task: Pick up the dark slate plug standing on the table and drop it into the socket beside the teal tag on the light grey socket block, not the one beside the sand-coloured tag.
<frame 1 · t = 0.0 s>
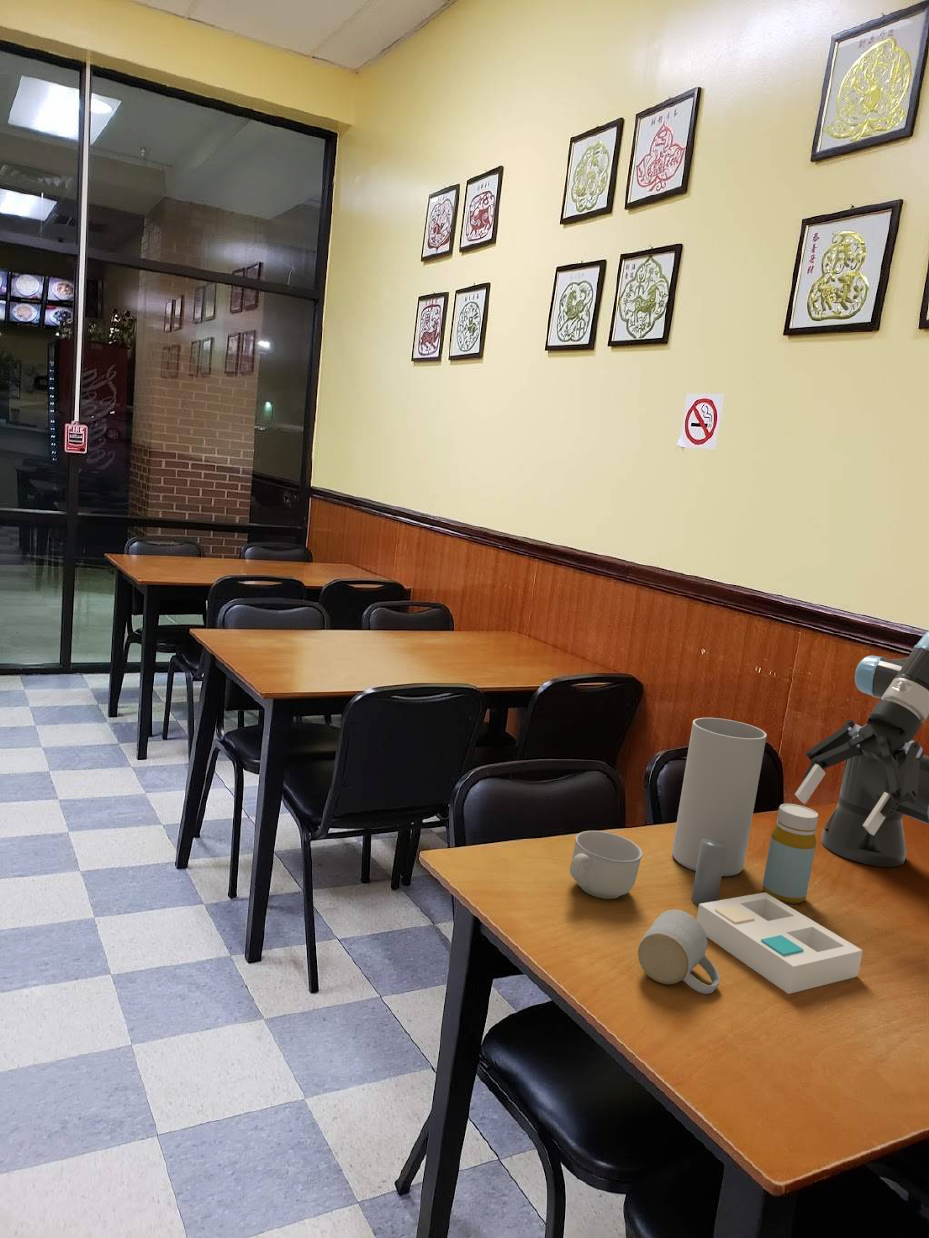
hand: (832, 814, 149), 15 cm above the table, tool tilted 35°, fingers open, 13 cm apart
teacup: (594, 893, 145), on the table
ceramic mug: (677, 977, 123), on the table
plug: (704, 901, 146), on the table
cylinder vase: (706, 863, 162), on the table
socket block: (773, 951, 132), on the table
bottle: (783, 896, 152), on the table
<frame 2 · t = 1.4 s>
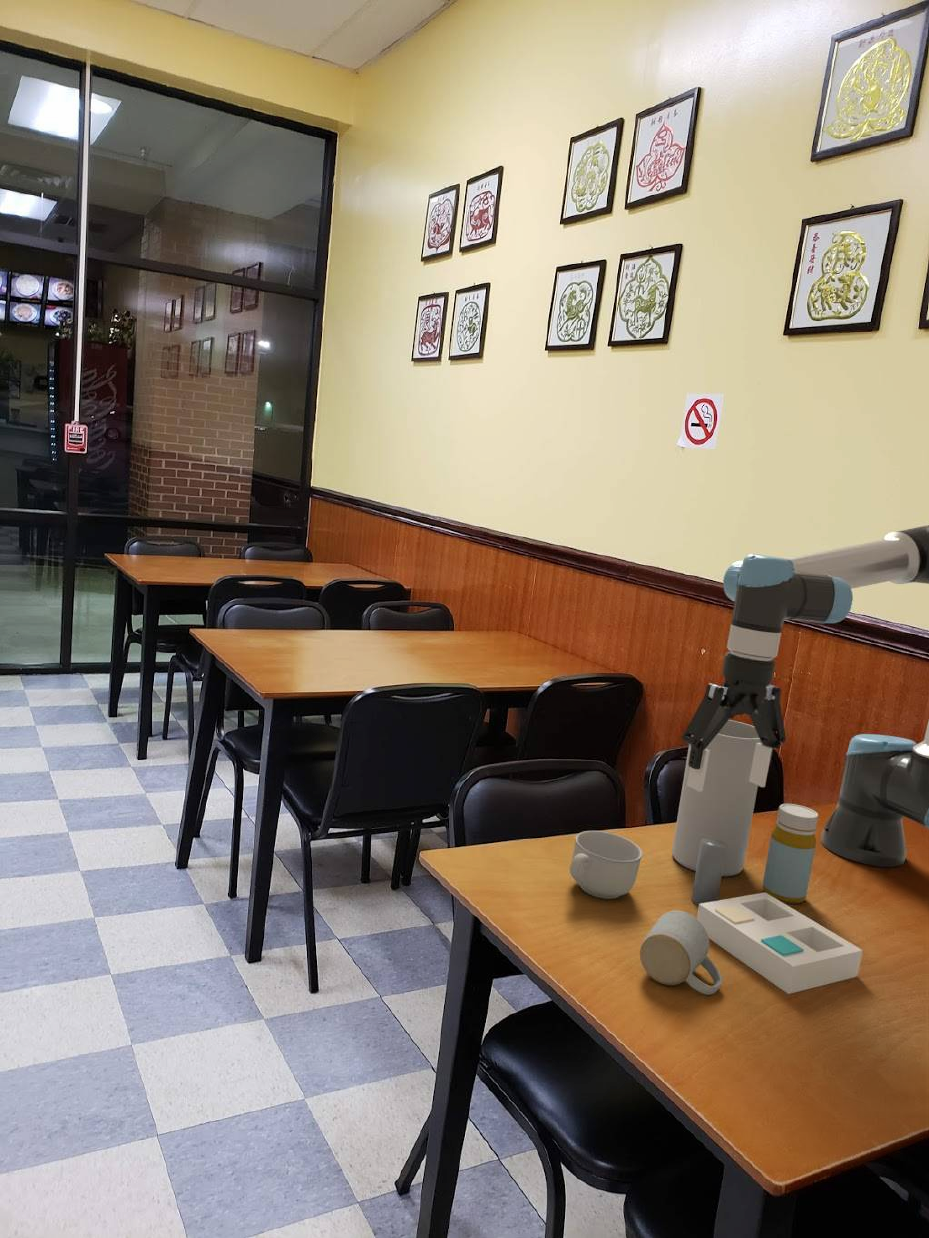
hand: (726, 786, 143), 20 cm above the table, tool pointing down, fingers open, 13 cm apart
nothing on the table moved.
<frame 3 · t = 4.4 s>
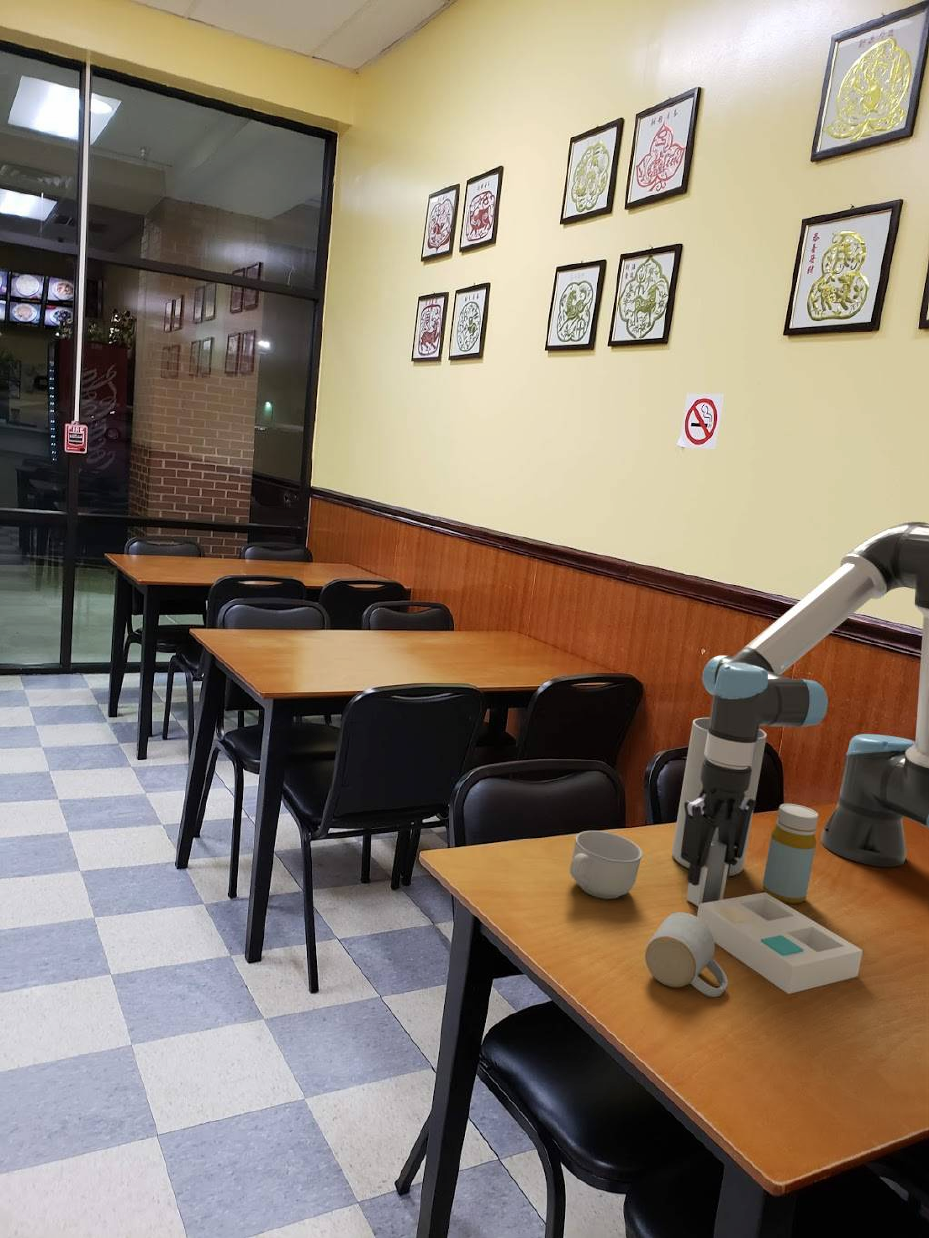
hand: (704, 900, 146), 0 cm above the table, tool pointing down, fingers closed on plug, 4 cm apart
plug: (704, 901, 146), on the table, touching gripper
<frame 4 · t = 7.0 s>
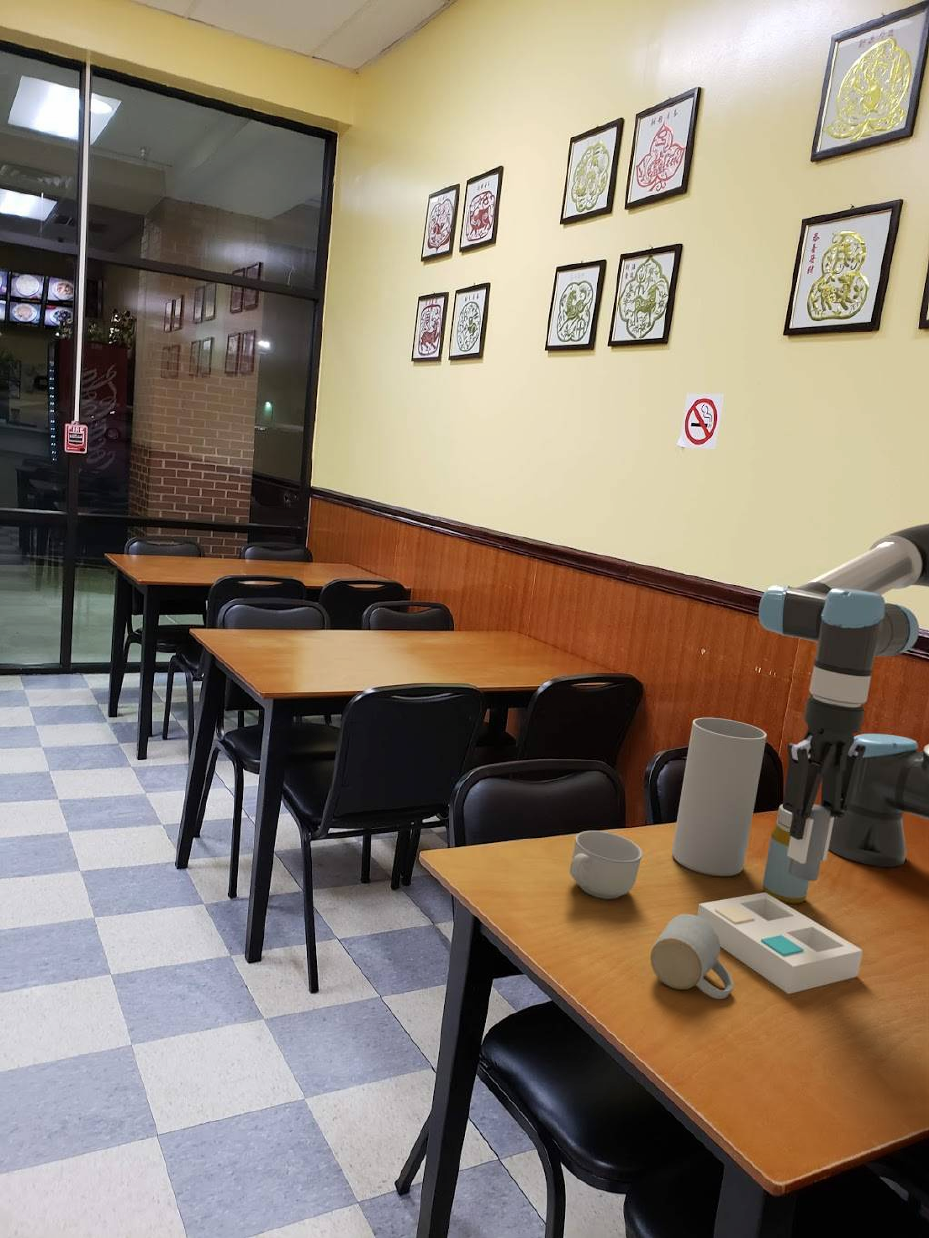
hand: (806, 857, 130), 15 cm above the table, tool pointing down, fingers closed on plug, 3 cm apart
plug: (802, 874, 130), point 12 cm above the table, touching gripper
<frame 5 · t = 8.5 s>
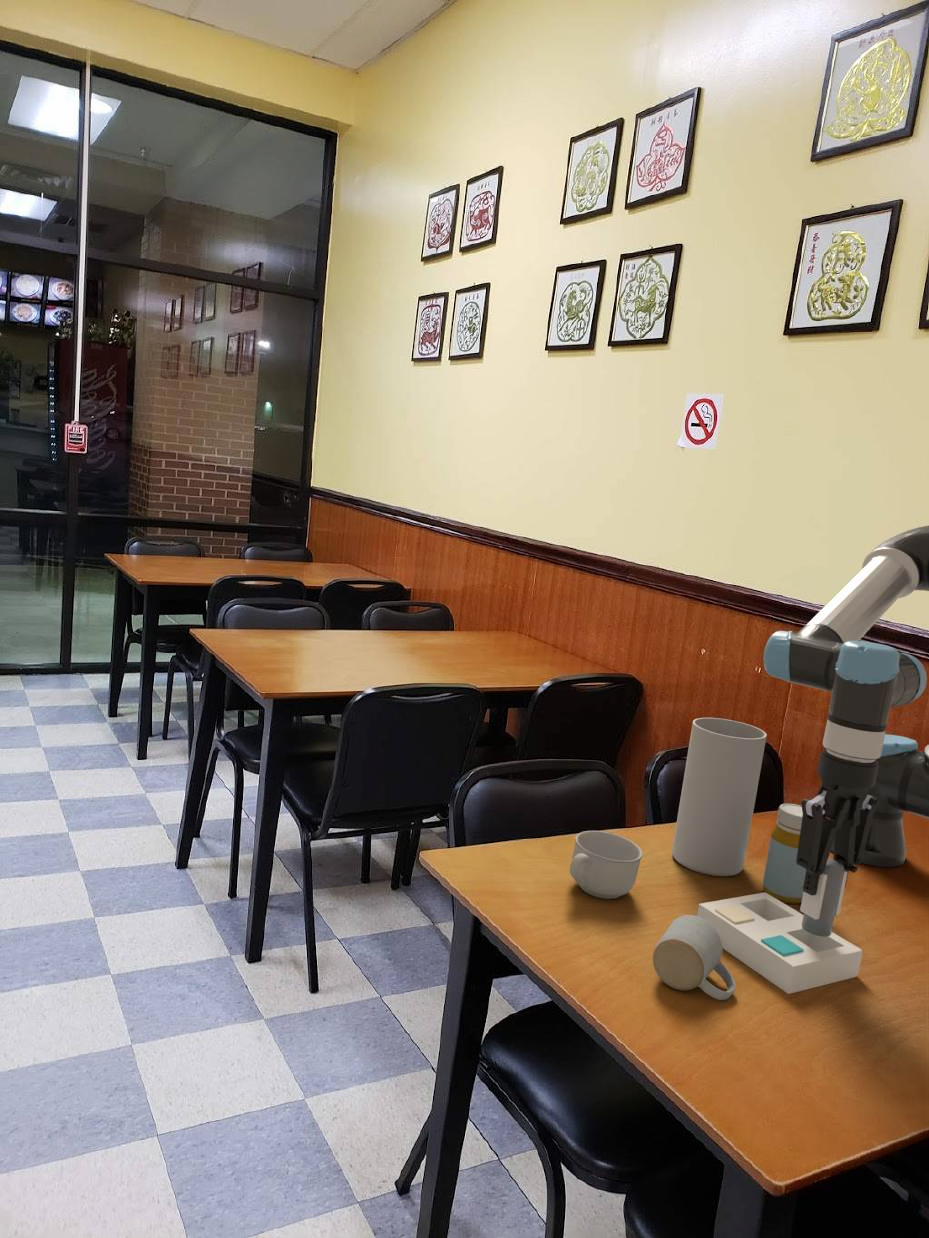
hand: (819, 912, 128), 8 cm above the table, tool pointing down, fingers closed on plug, 3 cm apart
plug: (816, 929, 129), point 6 cm above the table, touching gripper
when the fingers open (6 cm above the table, at t = 9.6 s): plug drops 3 cm, resting in socket block.
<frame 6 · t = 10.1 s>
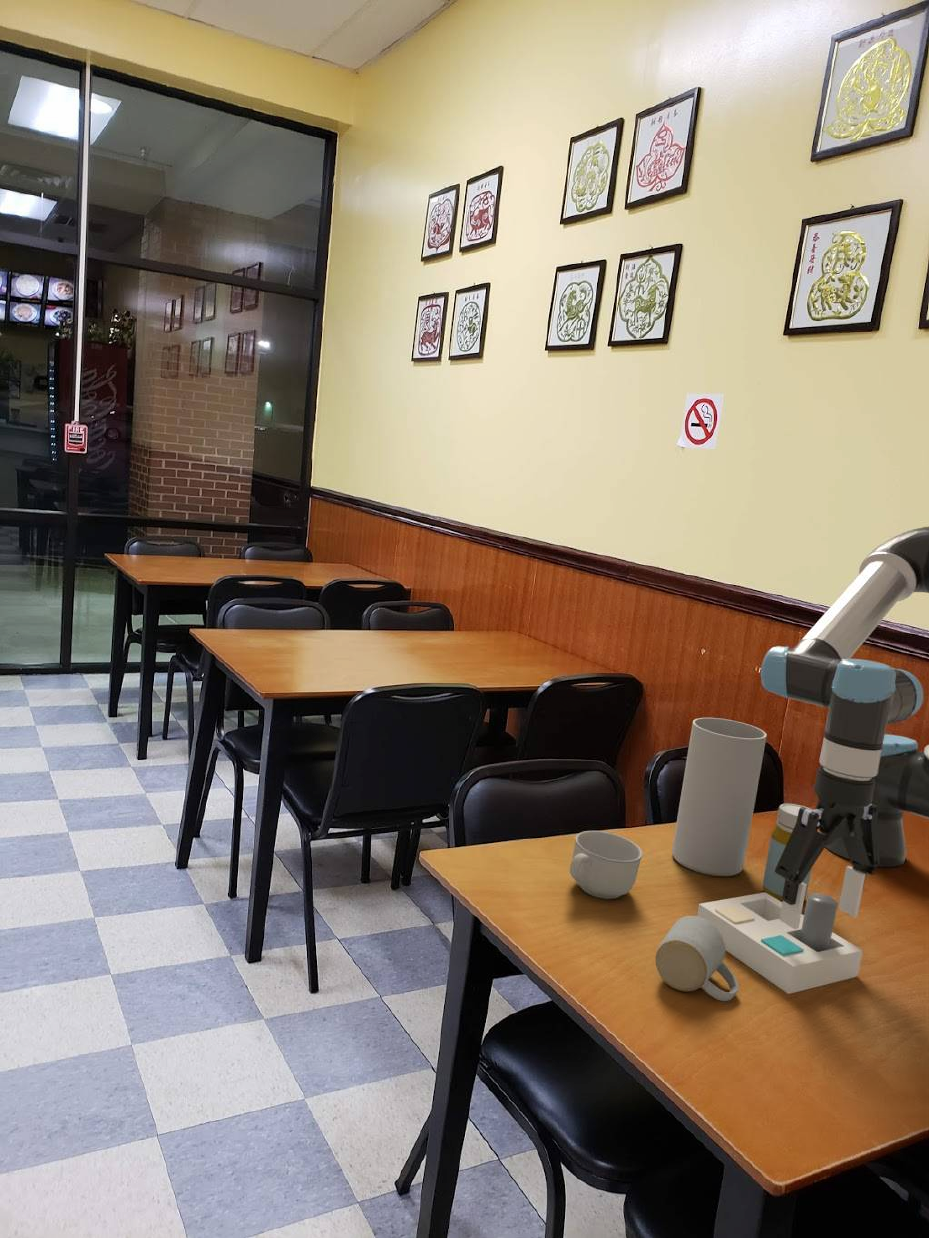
hand: (818, 918, 129), 7 cm above the table, tool pointing down, fingers open, 11 cm apart
plug: (810, 964, 130), resting in socket block
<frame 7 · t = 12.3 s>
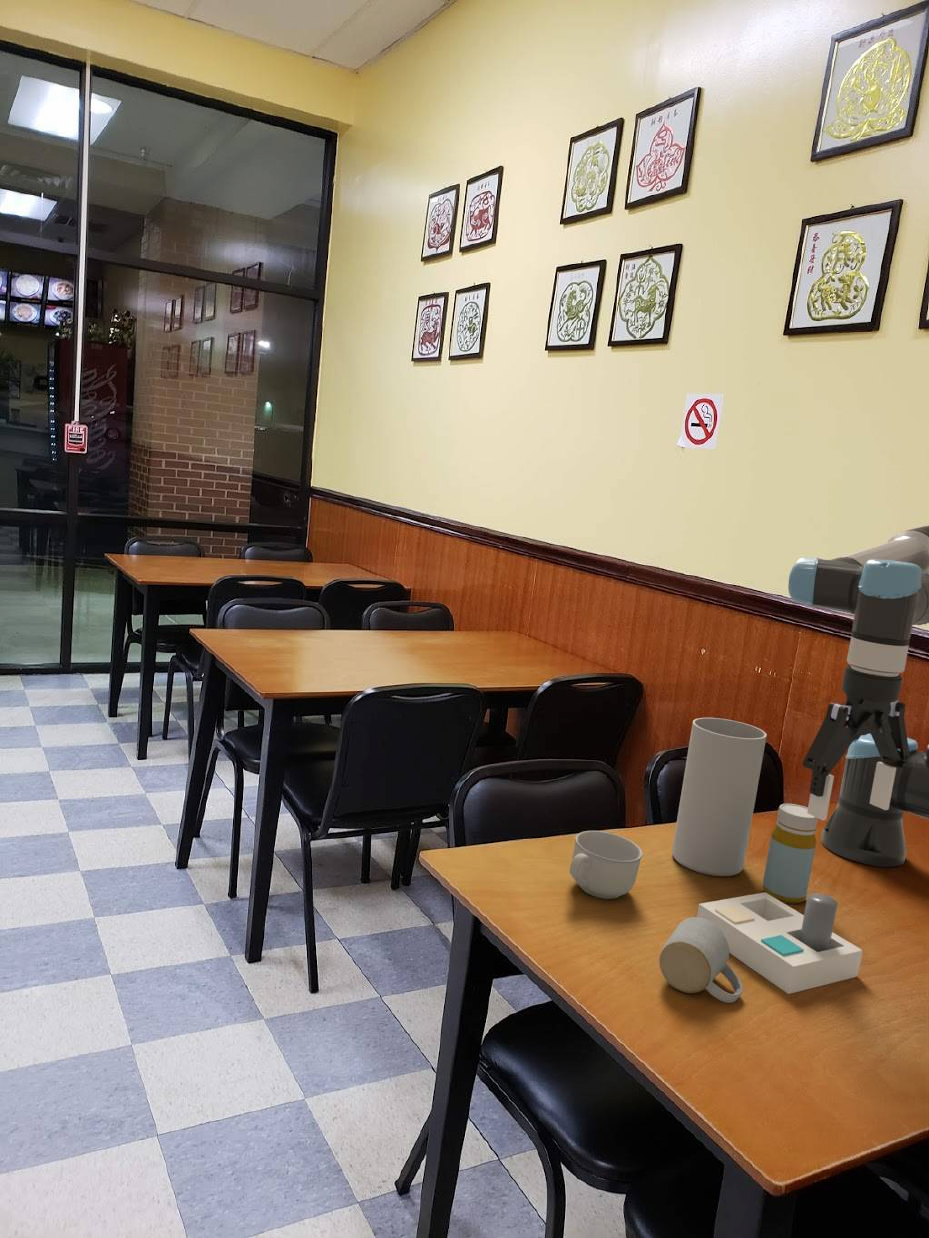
hand: (848, 811, 132), 21 cm above the table, tool pointing down, fingers open, 13 cm apart
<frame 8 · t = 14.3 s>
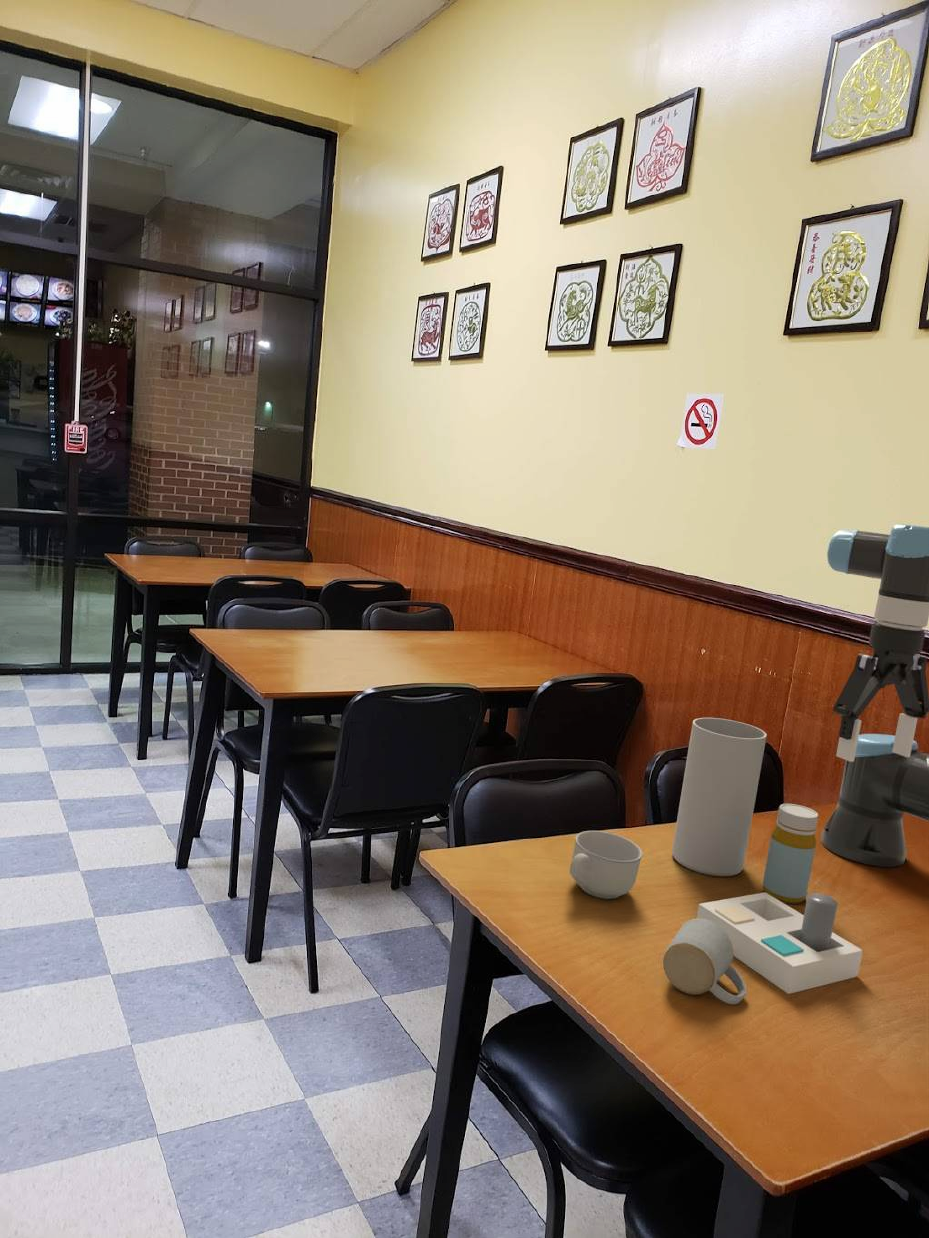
hand: (873, 756, 144), 27 cm above the table, tool pointing down, fingers open, 13 cm apart
at the end: plug 0.0 cm from the target spot on the socket block, point 0.0 cm above the socket block's base; plug tilted 0°; the gripper is holding nothing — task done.
